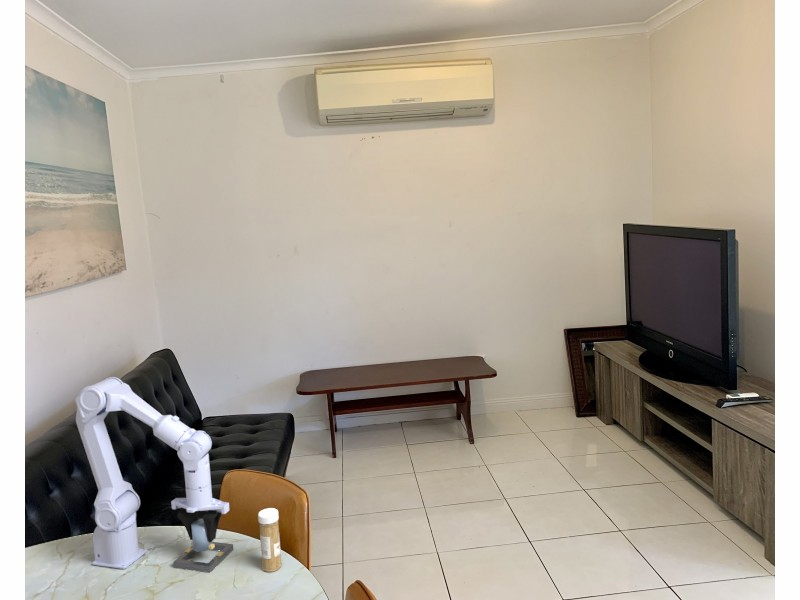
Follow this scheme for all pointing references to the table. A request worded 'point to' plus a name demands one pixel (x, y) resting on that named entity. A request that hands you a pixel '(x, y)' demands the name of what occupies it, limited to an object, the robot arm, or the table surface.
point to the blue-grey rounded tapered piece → (200, 537)
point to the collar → (201, 566)
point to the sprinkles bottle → (270, 539)
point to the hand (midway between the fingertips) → (202, 538)
